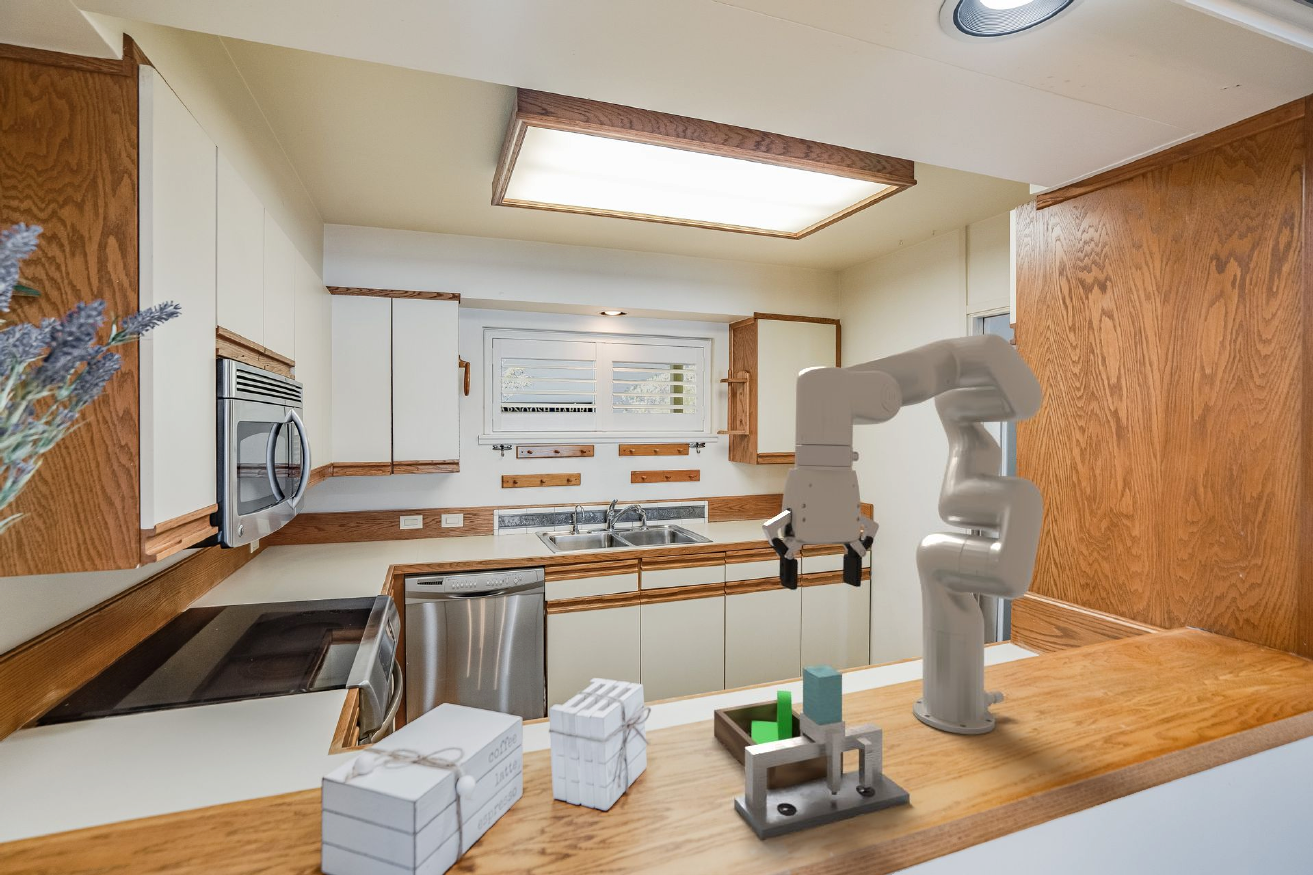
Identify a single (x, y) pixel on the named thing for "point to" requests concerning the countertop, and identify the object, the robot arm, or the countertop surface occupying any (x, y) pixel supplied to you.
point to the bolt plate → (819, 804)
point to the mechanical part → (775, 730)
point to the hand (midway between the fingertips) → (820, 586)
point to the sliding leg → (824, 717)
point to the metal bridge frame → (806, 748)
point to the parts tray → (733, 736)
